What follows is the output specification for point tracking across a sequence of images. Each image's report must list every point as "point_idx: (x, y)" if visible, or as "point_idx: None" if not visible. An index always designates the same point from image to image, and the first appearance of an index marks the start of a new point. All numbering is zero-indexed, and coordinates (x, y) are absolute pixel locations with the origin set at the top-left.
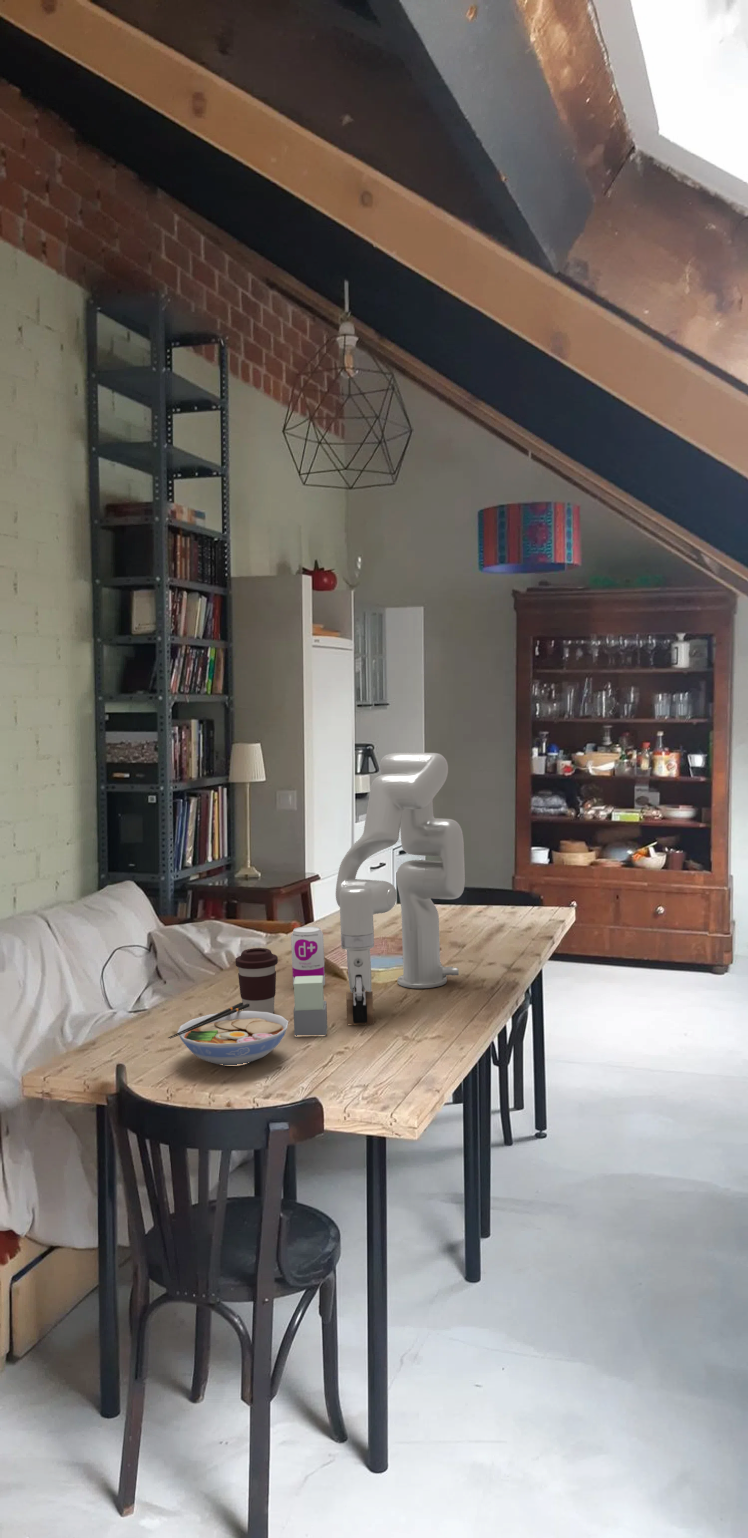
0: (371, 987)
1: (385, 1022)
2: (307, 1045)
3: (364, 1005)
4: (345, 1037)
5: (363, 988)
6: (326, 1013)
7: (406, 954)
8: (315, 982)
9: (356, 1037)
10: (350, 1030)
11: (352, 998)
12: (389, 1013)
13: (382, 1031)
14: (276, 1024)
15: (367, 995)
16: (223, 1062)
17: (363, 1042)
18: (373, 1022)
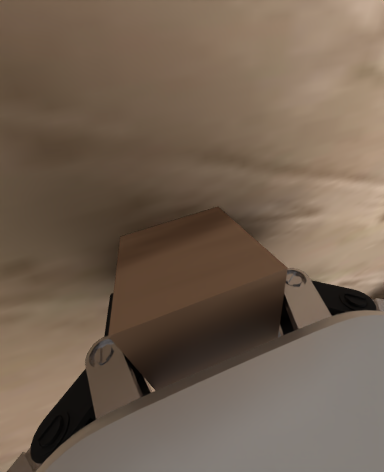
0: (321, 352)
1: (194, 165)
2: (339, 286)
3: (293, 272)
4: (320, 243)
5: (139, 391)
6: (280, 335)
7: None
8: None
9: (329, 218)
10: (271, 251)
11: (265, 342)
12: (40, 179)
13: (301, 151)
14: None
15: (216, 317)
16: None
17: (373, 187)
18: (220, 209)
